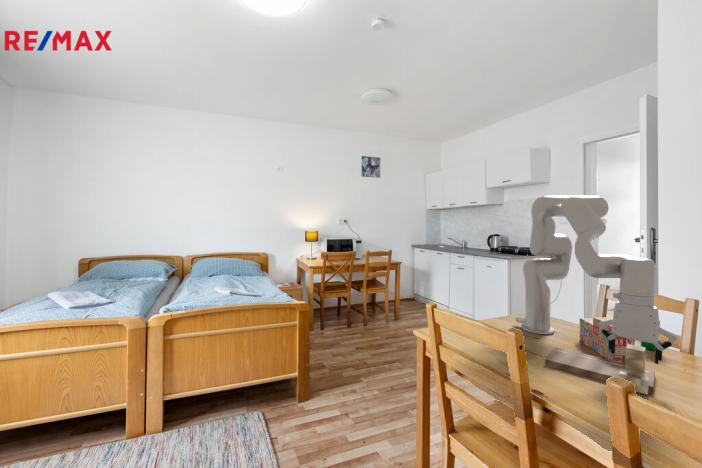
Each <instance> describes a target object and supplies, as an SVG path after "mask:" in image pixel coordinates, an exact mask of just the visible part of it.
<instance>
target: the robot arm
mask: <svg viewBox="0 0 702 468" xmlns="http://www.w3.org/2000/svg"><path fill="white" fill-rule="evenodd" d="M530 209H531V210H530V211H531V220H532V221H531V222H532V227H531V234H530V241H529V242H530V243H529V251H530V253H531V254H532V255H534V256H536V258H535V257H534V258H529V259H527V260H526V261H524V263H523V265H522V272H523V277H524V282H525V283H524V287H525V298H524V299H525V302H524V303H525V311H524V313H525V314H524V317H521V316H520V317H519V316H515V317H514V318H515V322H516V323H521V326H520V327H521V329H522V330H523V331H525V332H528V333H530V334H531V333H532V334H536V335H552V334H554V333H555V328H554V327H552V326H551V301H552V300H551V290H550V287H549V285H548V284H547V282H546V281H560V280H563V279H566V277H567V276H568V274H569V271H570V266H571V259H572V252H573V251H572V250H573V242H572V240H571V238H570V237H569V236H567V235H566V234H563V233H556V222H555V220H554V218H553V217H555V218H557V217H559V218H560V217H561V218H562V217H565V218H566V220H567V222H568V223H569V224H570V226H571V228H572V229H573V231H574V233H575V234H576V235H577V238H576V239H575V243H574V256H575V258H576V259H577V260H576V261H577V262H578V264H579V265H580V267H581V269H582V270H583V271H584V272H585V274H587V275H588V276H589V277H591V278H593V279H619V292H618V293H615V292H613V295H612V296H613V299H617V300H618V301H616V302H615V305H614V309H613V315H612V318H613V319H612V320H607V321H603V322H599V323H598V326H599V328H600V330H601V331H602V333H603V334H604V335H605V336H606V337H607V338H608V340H609V349H610V350H611V354H614V353H615V343H616V339H615V338H616V337H617V336H618V337H622V338H627V339H632V340H635V341H637V342H641V341H642V342H647V343H653V344H654V345H655V346H656V348H655V351H654V364H656V365H659V361H660V362H662V360H663V351H664V350H666V349H668V348H670V347H672V346H673V344H674V343H675V342H676V341H677V340H678V337H677V335H675V334H673V333H672V332H670V331H668V330H666V329H664V328H662V327H661V326H660V327H659V321H660V319H659V318H660V317H659V315H660V314H659V310H658V307H657V306H655V305H654V304H655V283H656V282H655V281H656V262H655V261H654V260H653V259H651V258H646V257H637V256H632V255H629V254H624V253H621V254H620V253H617V254H616V253H611V254H608V253H607V254H606V253H602V254H601V253H600V254H598V253H597V252H596V250H595V249H594V248H593V246H592V244H591V241H593V240H596V239H597V238H599V237H601V236H602V235H604V233H605V232H606V230H607V226H606V224H605V222H604V221H603V220H602V218H604V217H605V216H606V215H608V212H609V204H608V201H607V200H606V199H605V198H604V197H602V196H599V195H559V194H557V195H543V196H540V197H538V198H536V199H535V200H534V201H533V203H532V205H531V208H530ZM548 257H549V258H548ZM551 257H552V258H551ZM608 325H612V333H610V332H609V331H608V330H607V329H606V328H605V326H608ZM659 333H660V334H661V335H663V336H664V337H666V338H667V340H665V341H663V342H661V341H659Z"/></svg>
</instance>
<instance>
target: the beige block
mask: <svg viewBox="0 0 702 468" xmlns="http://www.w3.org/2000/svg"><path fill="white" fill-rule="evenodd" d="M645 348H646V347H641V345H630V344H627V347H626V369H628V371H627V373H626V372H622V371H620V373H619V377H620V378H623V379H625V380H628V381H631V382H632V383H633V384H634V385H635V390H636V392H637V393H639V394H643V395H647V396H649V395H648V394H649V393H648V378H646V377H642V375H643V373H644V371H645V368H646V349H645ZM636 392H635V393H636Z"/></svg>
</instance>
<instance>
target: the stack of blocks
mask: <svg viewBox="0 0 702 468" xmlns="http://www.w3.org/2000/svg"><path fill="white" fill-rule="evenodd" d="M612 319H613V317H604V316H603V317H600V316H599V317H597V316H593V317H591V318H589V317H587V318H586V317H585V318H583V317H580V318H579V341H580V342H581V343H584V344H585V345H586V346H588V347H589V348H590V349H592V350H594V351H595V352H597V354H599V355H601V356H602V357H603V358H604V359H609V360H613V361H617V362H622V363H626V347H627V344H630V345H635V343H636V340H632V339H627V338H622V337H618V336H617V337H616V338H615V339H616V343H615V353H614V354H611V350H610V349H609V340H608V338H607V337H606V336H605V335H604V334H603V333H602V331H601V330H600V328H599V326H598V323H599V322H603V321H607V320H612ZM605 328H606V329H607V330H608V331H609V332H610V333H612V325H608V326H605Z"/></svg>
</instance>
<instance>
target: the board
mask: <svg viewBox="0 0 702 468" xmlns="http://www.w3.org/2000/svg"><path fill="white" fill-rule="evenodd" d="M545 366H547V367H551V368H555V369H559V370H562V371H566V372H570V373H573V374H577V375H580V376H584V377H587V378H588V377H589V378H592V379H595V380H598V381H602V380H603V381H602V382H606V380H607V379H608V378H610V377H612V376H617V377H619V373H620V371H622V372H626V373H627V371H628V369H626V363H622V362H617V361H613V360H609V359H607V358H605V357H598V356H596V355H590V354H587V353H582V352H578V351H574V350H569V349H566V348H560V347H554V349H553V350H552V351H551V352H550V353H549V355H548V356H546V358H545ZM642 377H646V378H648V394H651V395H653V394H654V390H655V381H656V380H655V379H656V369H651V368H648V367H645V371H644V373H643V375H642Z"/></svg>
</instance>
